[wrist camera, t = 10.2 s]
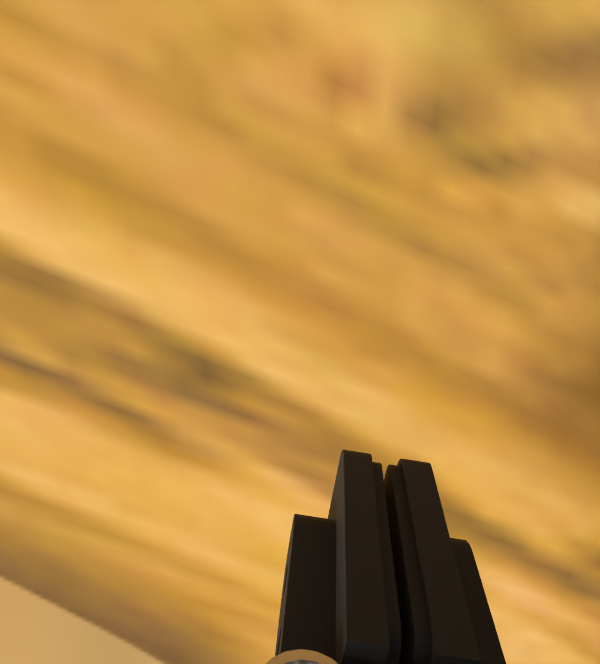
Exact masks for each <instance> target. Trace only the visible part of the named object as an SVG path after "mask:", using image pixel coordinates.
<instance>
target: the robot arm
mask: <svg viewBox="0 0 600 664" xmlns="http://www.w3.org/2000/svg"><path fill="white" fill-rule="evenodd" d="M266 664H506V662H505V659H504V655H503V652H502V649H501V645H500V642H499V639H498V635H497V632H496V629H495V625H494V622H493V619H492V615H491V612H490V609H489V605H488V602H487V599H486V595H485V592H484V589H483V585H482V582H481V579H480V575H479V572H478V569H477V565H476V562H475V559H474V555H473V552H472V549H471V547H470V544H469V543H468V542H467V541H466V540H461V539H454V538H450V537H449V533H448V529H447V525H446V521H445V517H444V513H443V509H442V505H441V502H440V498H439V494H438V490H437V486H436V482H435V478H434V474H433V471H432V467H431V464H430V463H426V462H420V461H413V460H407V459H400V460H399V462H398V465H397V466H395V465H388V467H387V470H386V474H385V478H384V481H383V472H382V465H381V463H376V462H372V456H371V454H368V453H361V452H355V451H348V450H342V453H341V456H340V461H339V466H338V471H337V476H336V481H335V486H334V491H333V495H332V500H331V505H330V510H329V515H328V519H325V518H318V517H312V516H305V515H299V514H294V519H293V524H292V530H291V536H290V542H289V548H288V554H287V561H286V568H285V575H284V583H283V591H282V599H281V608H280V617H279V626H278V635H277V643H276V652H275V657H273V658H271V659H270V660H269V661H268V662H267V663H266Z"/></svg>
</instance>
